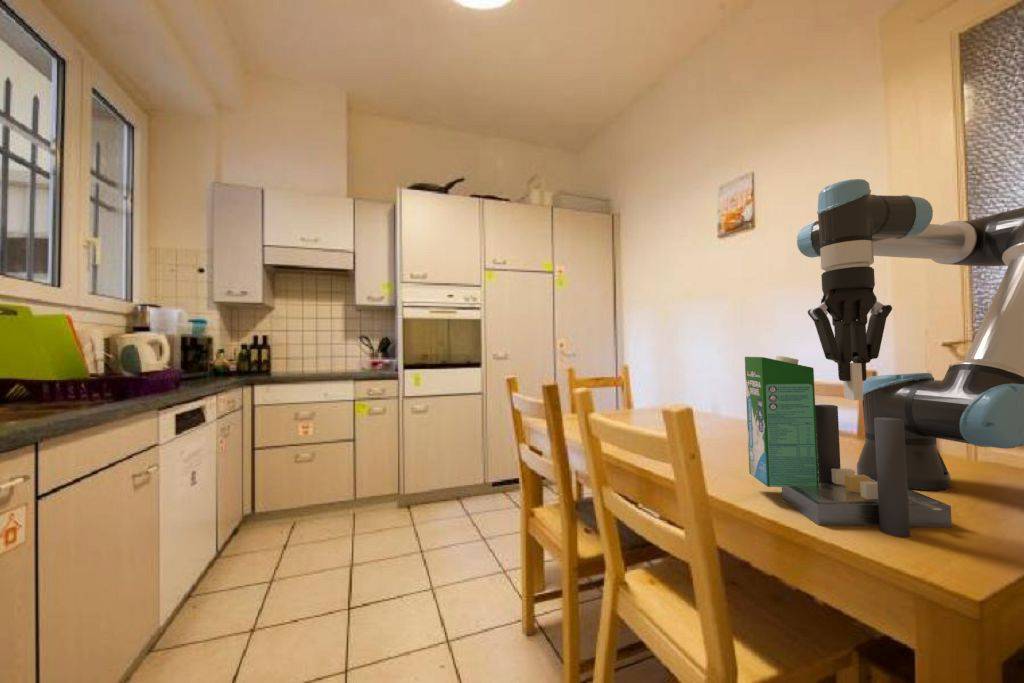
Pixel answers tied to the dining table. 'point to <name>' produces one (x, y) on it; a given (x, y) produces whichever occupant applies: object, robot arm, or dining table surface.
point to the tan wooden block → (855, 481)
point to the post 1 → (827, 441)
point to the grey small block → (840, 475)
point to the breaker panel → (860, 506)
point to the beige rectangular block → (869, 490)
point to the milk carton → (781, 422)
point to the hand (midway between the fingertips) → (853, 399)
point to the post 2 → (892, 476)
